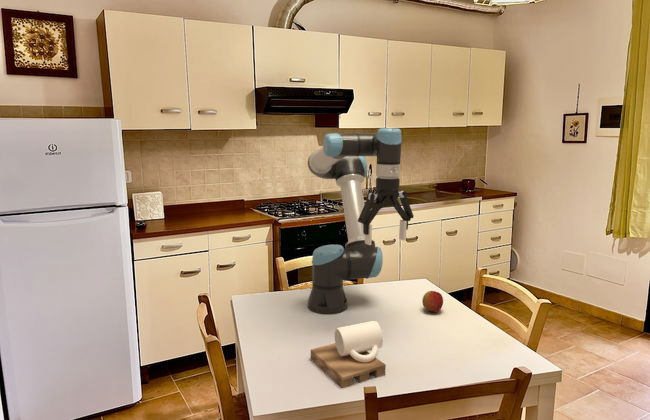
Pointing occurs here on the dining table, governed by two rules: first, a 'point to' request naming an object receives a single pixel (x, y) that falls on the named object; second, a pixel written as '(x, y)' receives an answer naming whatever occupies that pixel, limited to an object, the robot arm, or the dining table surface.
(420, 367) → the dining table surface
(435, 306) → the apple
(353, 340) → the mug
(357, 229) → the robot arm
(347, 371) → the wooden pallet
